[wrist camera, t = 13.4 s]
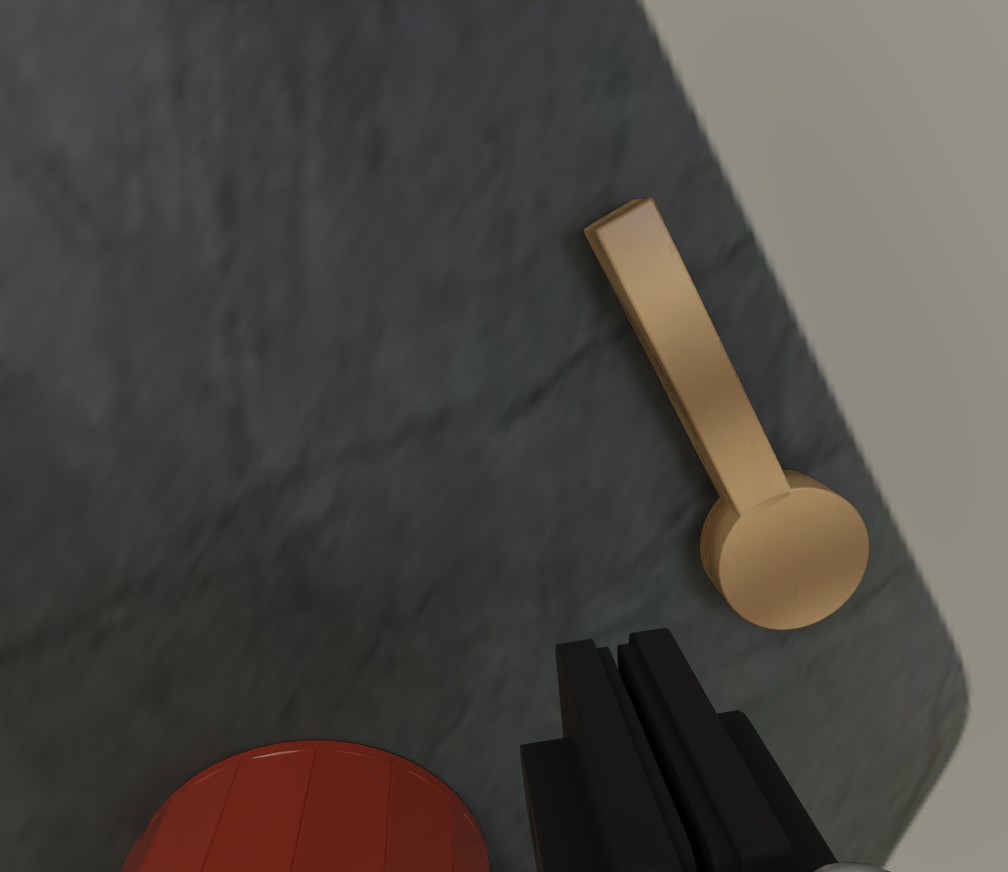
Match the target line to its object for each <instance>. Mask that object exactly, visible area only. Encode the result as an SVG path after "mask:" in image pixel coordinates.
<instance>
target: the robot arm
mask: <svg viewBox="0 0 1008 872" xmlns="http://www.w3.org/2000/svg"><path fill="white" fill-rule="evenodd" d="M617 656H618V668H617V666H616V664H615V661H614V659H613V656H612V654H611V652H610V649H609V648H608V647H602V648H596V646H595V643H594V641H593V640H592V639H588V640H581V641H575V642H568V643H561V644H556V662H557V673H558V684H559V695H560V705H561V716H562V727H563V738H561V739H555V740H549V741H543V742H536V743H530V744H524V745H520V752H521V762H522V771H523V779H524V788H525V796H526V803H527V811H528V817H529V824H530V831H531V837H532V844H533V850H534V856H535V861H536V867H537V872H890V871H887V870H884V869H881V868H878V867H875V866H872V865H869V864H864V863H854V862H840V863H838V861H837V860H836V858H835V857H834V855H833V853H832V852H831V850H830V849H829V847H828V845H827V844H826V842H825V841H824V839H823V837H822V836H821V834H820V833H819V831H818V829H817V828H816V826H815V825H814V823H813V821H812V820H811V818H810V817H809V815H808V813H807V812H806V810H805V809H804V807H803V805H802V804H801V802H800V801H799V799H798V797H797V796H796V794H795V793H794V791H793V789H792V788H791V786H790V785H789V783H788V781H787V780H786V778H785V776H784V775H783V773H782V772H781V770H780V768H779V767H778V765H777V764H776V762H775V760H774V759H773V757H772V756H771V754H770V752H769V751H768V749H767V748H766V746H765V744H764V743H763V741H762V740H761V738H760V736H759V735H758V733H757V732H756V730H755V728H754V727H753V725H752V724H751V722H750V720H749V719H748V718H747V717H746V715H745V714H744V713H743V712H741V711H739V710H736V711H730V712H724V713H718V714H717V713H716V711H715V710H714V708H713V706H712V704H711V703H710V701H709V699H708V697H707V696H706V694H705V692H704V690H703V688H702V687H701V685H700V683H699V681H698V680H697V678H696V676H695V674H694V673H693V671H692V669H691V667H690V666H689V664H688V662H687V660H686V659H685V657H684V655H683V653H682V652H681V650H680V648H679V646H678V645H677V643H676V641H675V639H674V638H673V636H672V634H671V632H670V631H669V630H668V629H667V628H661V629H654V630H648V631H641V632H634V633H630V635H629V644H622V645H618V649H617Z"/></svg>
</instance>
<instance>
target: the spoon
mask: <svg viewBox="0 0 1008 872" xmlns="http://www.w3.org/2000/svg"><path fill="white" fill-rule="evenodd" d="M584 233H585V235H586V237H587V239H588V241H589V243H590V245H591V247H592V249H593V251H594V253H595V255H596V257H597V259H598V261H599V263H600V265H601V267H602V269H603V270H604V272H605V274H606V276H607V278H608V280H609V282H610V284H611V286H612V288H613V290H614V292H615V294H616V296H617V298H618V300H619V302H620V304H621V306H622V307H623V309H624V311H625V313H626V315H627V317H628V319H629V321H630V323H631V325H632V327H633V329H634V331H635V333H636V335H637V337H638V339H639V341H640V343H641V344H642V346H643V348H644V350H645V352H646V354H647V356H648V358H649V360H650V362H651V364H652V366H653V368H654V370H655V372H656V374H657V376H658V378H659V380H660V381H661V383H662V385H663V387H664V389H665V391H666V393H667V395H668V397H669V399H670V401H671V403H672V405H673V407H674V409H675V411H676V413H677V415H678V417H679V418H680V420H681V422H682V424H683V426H684V428H685V430H686V432H687V434H688V436H689V438H690V440H691V442H692V444H693V446H694V448H695V450H696V452H697V454H698V455H699V457H700V459H701V461H702V463H703V465H704V467H705V469H706V471H707V473H708V475H709V477H710V479H711V481H712V483H713V485H714V487H715V489H716V491H717V492H718V494H719V496H720V498H719V499H718V500H717V501H716V503H715V504H714V505H713V507H712V508H711V510H710V512H709V513H708V515H707V518H706V520H705V522H704V525H703V529H702V532H701V539H700V554H701V560H702V564H703V567H704V569H705V571H706V574H707V575H708V577H709V578H710V580H711V582H712V583H713V584H714V585H715V587H716V588H717V589H718V591H719V592H720V593H721V594H722V596H723V597H724V598H725V600H726V601H727V602H728V604H729V605H730V606H731V607H732V608H733V609H734V611H735V612H736V613H738V614H739V615H740V616H741V617H742V618H744V619H746V620H747V621H749V622H751V623H753V624H756V625H758V626H762V627H765V628H770V629H783V630H786V629H796V628H800V627H804V626H808V625H810V624H813V623H816V622H818V621H820V620H822V619H824V618H826V617H827V616H829V615H830V614H832V613H833V612H835V611H836V610H837V609H838V608H840V607H841V606H842V605H843V604H844V603H845V602H846V601H847V600H848V599H849V597H850V596H851V595H852V594H853V593H854V591H855V590H856V588H857V586H858V585H859V583H860V581H861V579H862V577H863V575H864V572H865V569H866V566H867V561H868V555H869V539H868V534H867V530H866V527H865V524H864V522H863V520H862V518H861V516H860V514H859V513H858V512H857V510H856V509H855V508H854V507H853V506H852V505H851V504H850V503H849V502H848V501H847V500H845V499H844V498H842V497H841V496H840V495H838V494H837V493H835V492H834V491H832V490H831V489H829V488H828V487H826V486H825V485H823V484H822V483H820V482H819V481H818V480H816V479H815V478H813V477H811V476H809V475H807V474H804V473H801V472H798V471H793V470H782V468H781V466H780V464H779V462H778V460H777V458H776V456H775V454H774V451H773V449H772V447H771V445H770V443H769V441H768V439H767V437H766V435H765V433H764V430H763V428H762V426H761V424H760V422H759V420H758V418H757V416H756V414H755V412H754V409H753V407H752V405H751V403H750V401H749V399H748V397H747V395H746V393H745V391H744V388H743V386H742V384H741V382H740V380H739V378H738V376H737V374H736V372H735V370H734V368H733V365H732V363H731V361H730V359H729V357H728V355H727V353H726V351H725V349H724V347H723V344H722V342H721V340H720V338H719V336H718V334H717V332H716V330H715V328H714V326H713V323H712V321H711V319H710V317H709V315H708V313H707V311H706V309H705V307H704V305H703V303H702V300H701V298H700V296H699V294H698V292H697V290H696V288H695V286H694V284H693V282H692V279H691V277H690V275H689V273H688V271H687V269H686V267H685V265H684V263H683V261H682V258H681V256H680V254H679V252H678V250H677V248H676V246H675V244H674V242H673V240H672V237H671V235H670V233H669V231H668V229H667V227H666V225H665V223H664V221H663V219H662V217H661V214H660V212H659V210H658V208H657V206H656V204H655V202H654V200H653V199H652V198H645V199H634V200H632V201H630V202H628V203H626V204H625V205H623V206H621V207H620V208H618V209H616V210H615V211H613V212H611V213H610V214H608V215H606V216H604V217H603V218H601V219H599V220H598V221H596V222H594V223H593V224H591V225H589V226H588V227H586V228H585V229H584Z"/></svg>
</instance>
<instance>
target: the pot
mask: <svg viewBox="0 0 1008 872" xmlns="http://www.w3.org/2000/svg"><path fill="white" fill-rule="evenodd" d="M121 872H491V867H490V860H489V855H488V848H487V846H486V843H485V840H484V838H483V835H482V833H481V830H480V828H479V826H478V824H477V822H476V821H475V819H474V817H473V816H472V814H471V812H470V811H469V809H468V808H467V807H466V806H465V804H464V803H463V802H462V801H461V800H460V798H459V797H458V796H457V795H456V794H455V793H454V792H453V791H452V790H451V789H450V788H449V787H448V786H447V785H445V784H444V783H443V782H442V781H441V780H440V779H438V778H437V777H435V776H434V775H432V774H431V773H430V772H428V771H427V770H425V769H424V768H422V767H420V766H418V765H416V764H414V763H412V762H410V761H408V760H406V759H404V758H403V757H400V756H397V755H395V754H392V753H389V752H386V751H384V750H381V749H377V748H373V747H369V746H365V745H360V744H356V743H348V742H340V741H329V740H304V741H293V742H283V743H277V744H273V745H268V746H263V747H258V748H255V749H252V750H249V751H246V752H243V753H240V754H236V755H234V756H231V757H229V758H227V759H225V760H223V761H221V762H218V763H216V764H214V765H212V766H210V767H209V768H207V769H205V770H204V771H202V772H200V773H199V774H197V775H196V776H194V777H192V778H191V779H190V780H188V781H187V782H186V783H185V784H184V785H182V786H181V787H180V788H179V789H177V790H176V791H175V792H174V793H173V794H172V795H171V796H170V797H169V798H168V799H167V800H166V801H165V802H164V803H163V804H162V805H161V806H160V808H159V809H158V810H157V811H156V813H155V814H154V816H153V817H152V819H151V820H150V821H149V823H148V824H147V826H146V828H145V830H144V832H143V834H142V835H141V836H140V838H139V839H138V840H137V841H136V843H135V844H134V845H133V847H132V849H131V851H130V853H129V855H128V857H127V859H126V861H125V863H124V866H123V868H122V870H121Z"/></svg>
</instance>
